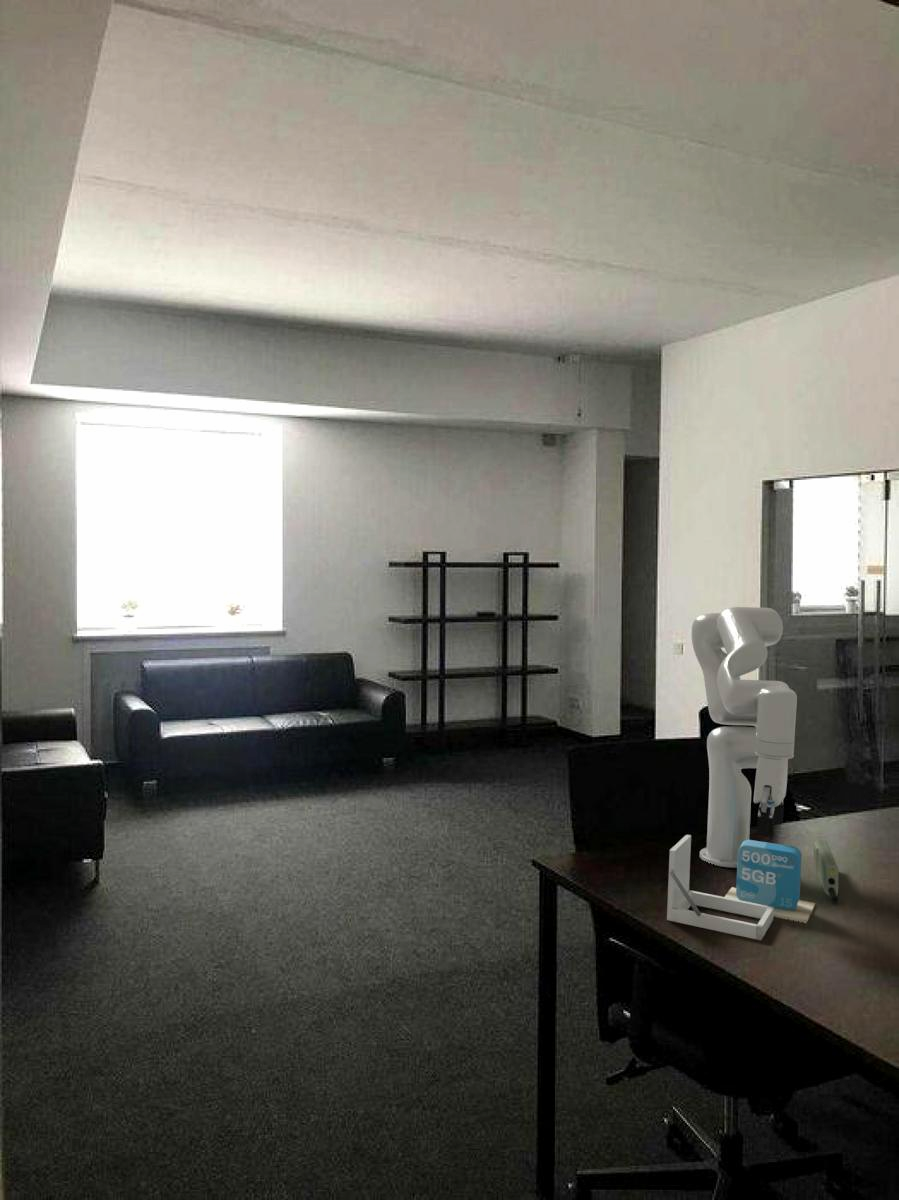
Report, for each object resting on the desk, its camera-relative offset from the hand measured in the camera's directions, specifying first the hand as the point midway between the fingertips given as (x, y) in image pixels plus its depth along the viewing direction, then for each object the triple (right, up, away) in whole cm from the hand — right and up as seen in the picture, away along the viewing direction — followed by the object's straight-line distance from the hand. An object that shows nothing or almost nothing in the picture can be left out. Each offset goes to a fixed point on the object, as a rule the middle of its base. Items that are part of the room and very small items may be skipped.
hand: (769, 829), depth 198 cm
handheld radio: (+17, -16, +14) cm, 27 cm away
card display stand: (-12, -16, -8) cm, 22 cm away
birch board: (0, -16, 0) cm, 16 cm away
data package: (0, -16, 0) cm, 15 cm away
